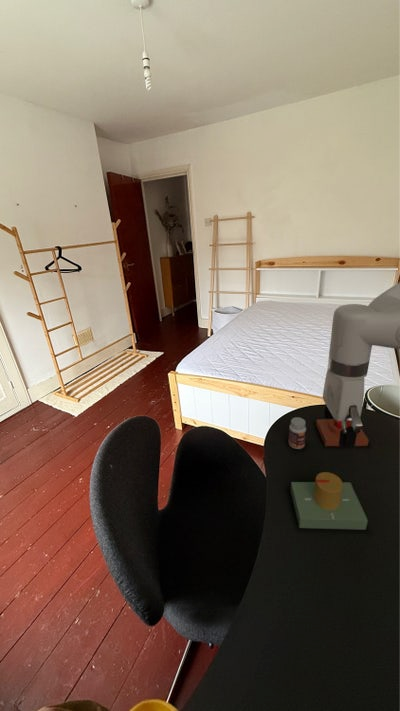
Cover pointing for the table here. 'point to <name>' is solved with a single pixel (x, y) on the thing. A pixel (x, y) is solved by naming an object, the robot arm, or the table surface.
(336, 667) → the table surface
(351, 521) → the control panel
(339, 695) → the table surface
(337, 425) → the power button
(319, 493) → the dial
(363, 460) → the table surface
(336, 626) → the table surface
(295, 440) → the pill bottle
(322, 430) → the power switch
